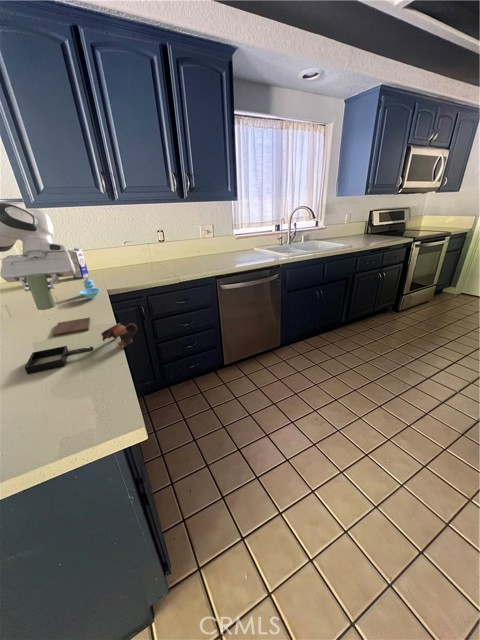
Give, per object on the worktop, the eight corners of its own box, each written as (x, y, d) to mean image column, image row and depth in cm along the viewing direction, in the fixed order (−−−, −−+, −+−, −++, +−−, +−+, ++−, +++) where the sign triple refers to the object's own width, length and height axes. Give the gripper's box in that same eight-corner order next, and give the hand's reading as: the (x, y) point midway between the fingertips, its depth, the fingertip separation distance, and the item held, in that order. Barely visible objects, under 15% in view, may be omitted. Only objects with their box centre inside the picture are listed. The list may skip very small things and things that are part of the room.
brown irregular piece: (113, 354, 90) (99, 333, 88) (111, 354, 98) (97, 335, 96) (144, 334, 95) (131, 315, 94) (139, 336, 103) (127, 318, 102)
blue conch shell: (102, 299, 140) (98, 283, 136) (80, 303, 135) (75, 286, 132) (101, 290, 154) (97, 275, 150) (81, 293, 150) (76, 278, 146)
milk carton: (80, 276, 187) (71, 247, 179) (89, 275, 187) (81, 247, 179) (73, 278, 181) (65, 249, 173) (83, 278, 181) (75, 248, 172)
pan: (27, 374, 79) (24, 367, 78) (35, 358, 87) (32, 352, 86) (94, 359, 86) (92, 353, 85) (95, 346, 94) (93, 340, 93)
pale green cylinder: (35, 311, 85) (23, 277, 80) (39, 306, 89) (27, 274, 85) (54, 308, 87) (43, 275, 82) (57, 303, 91) (46, 272, 87)
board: (53, 336, 102) (52, 334, 101) (58, 324, 112) (58, 322, 111) (88, 330, 106) (87, 328, 106) (90, 319, 116) (89, 317, 116)
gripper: (-4, 250, 84) (-6, 288, 79) (69, 245, 89) (71, 280, 85) (8, 261, 89) (6, 298, 85) (75, 256, 95) (78, 289, 91)
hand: (39, 289), depth 85 cm, fingers closed on pale green cylinder, 5 cm apart
